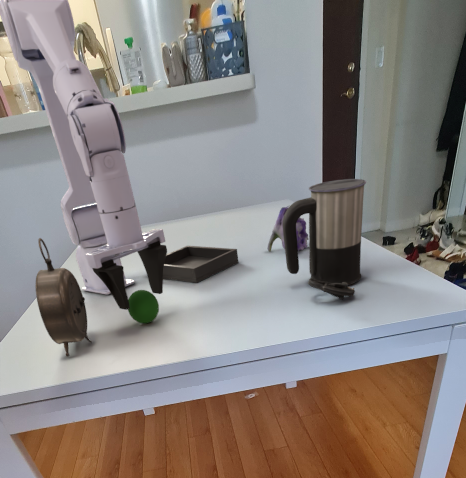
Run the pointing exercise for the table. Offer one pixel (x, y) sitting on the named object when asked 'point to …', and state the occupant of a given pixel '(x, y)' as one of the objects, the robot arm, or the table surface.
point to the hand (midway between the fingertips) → (141, 300)
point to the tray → (197, 263)
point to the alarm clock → (61, 304)
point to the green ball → (143, 306)
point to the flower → (278, 231)
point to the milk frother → (329, 235)
